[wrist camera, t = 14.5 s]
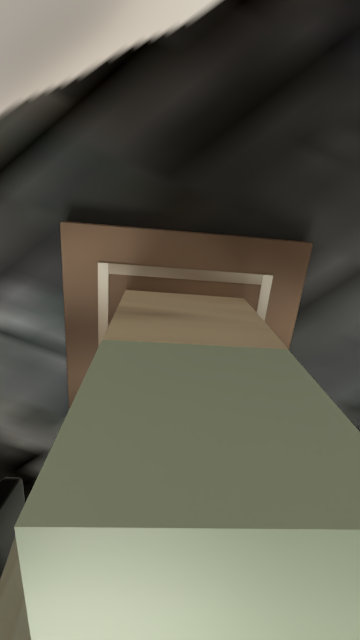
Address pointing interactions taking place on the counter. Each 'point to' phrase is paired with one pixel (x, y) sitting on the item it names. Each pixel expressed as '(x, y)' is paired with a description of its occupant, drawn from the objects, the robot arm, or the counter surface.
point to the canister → (13, 600)
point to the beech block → (189, 321)
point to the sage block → (195, 502)
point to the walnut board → (170, 278)
